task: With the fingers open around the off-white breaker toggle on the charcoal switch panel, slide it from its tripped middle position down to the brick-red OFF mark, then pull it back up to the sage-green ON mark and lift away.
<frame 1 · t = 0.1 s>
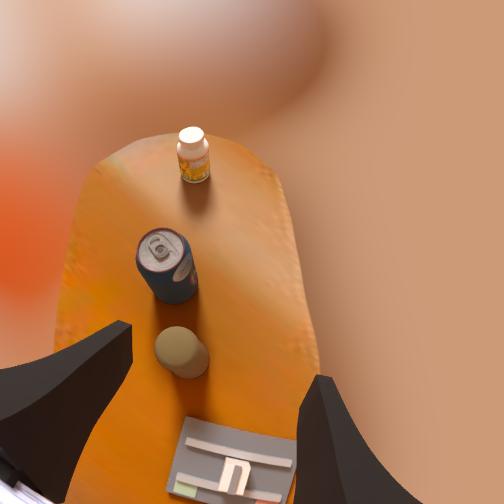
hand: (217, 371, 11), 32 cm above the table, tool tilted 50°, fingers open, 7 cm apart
breaker toggle: (234, 476, 31), point 4 cm above the table, slide at 0.0 cm
switch panel: (233, 468, 34), on the table
supplement bottle: (195, 173, 55), on the table
soda can: (175, 284, 46), on the table
cork: (188, 358, 41), on the table
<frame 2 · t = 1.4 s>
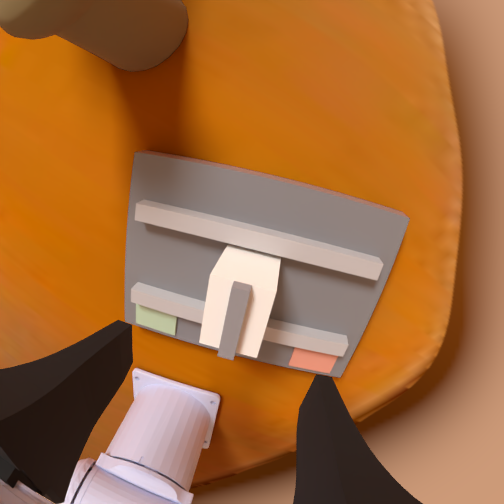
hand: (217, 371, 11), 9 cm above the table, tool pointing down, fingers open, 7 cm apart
breaker toggle: (240, 301, 16), point 4 cm above the table, slide at 0.0 cm
switch panel: (251, 268, 20), on the table
cork: (145, 30, 15), on the table
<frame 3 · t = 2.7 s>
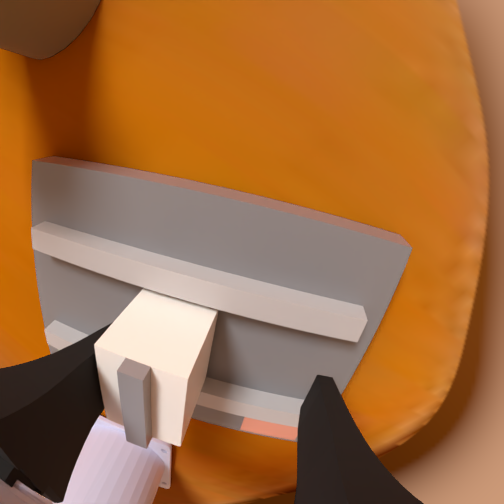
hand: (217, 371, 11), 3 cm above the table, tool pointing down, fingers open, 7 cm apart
breaker toggle: (157, 370, 10), point 4 cm above the table, slide at -0.2 cm, touching gripper
switch panel: (185, 311, 14), on the table
cork: (59, 8, 9), on the table
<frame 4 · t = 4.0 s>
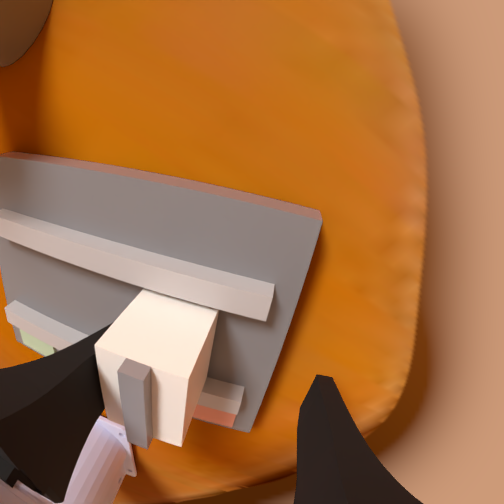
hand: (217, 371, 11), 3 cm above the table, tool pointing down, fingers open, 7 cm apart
breaker toggle: (158, 371, 10), point 4 cm above the table, slide at -3.7 cm, touching gripper
switch panel: (120, 290, 14), on the table
cork: (20, 20, 10), on the table
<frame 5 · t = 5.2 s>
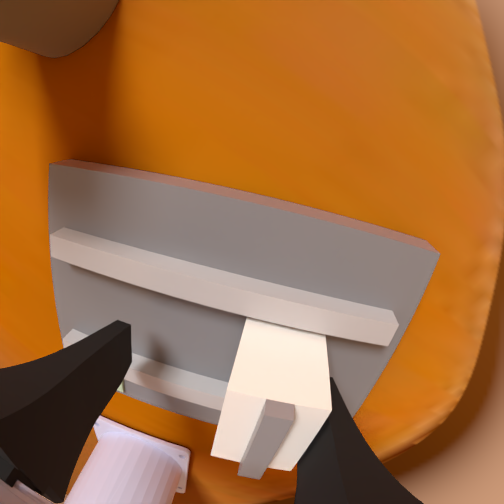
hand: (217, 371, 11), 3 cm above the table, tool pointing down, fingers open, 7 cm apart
breaker toggle: (268, 401, 10), point 4 cm above the table, slide at -3.1 cm, touching gripper
switch panel: (211, 318, 14), on the table
cork: (74, 5, 9), on the table
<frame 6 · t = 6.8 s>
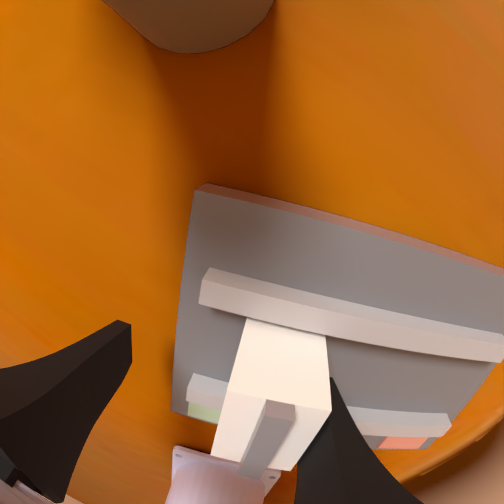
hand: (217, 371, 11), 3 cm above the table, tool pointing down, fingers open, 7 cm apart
breaker toggle: (268, 401, 10), point 4 cm above the table, slide at 3.7 cm, touching gripper
switch panel: (352, 350, 14), on the table
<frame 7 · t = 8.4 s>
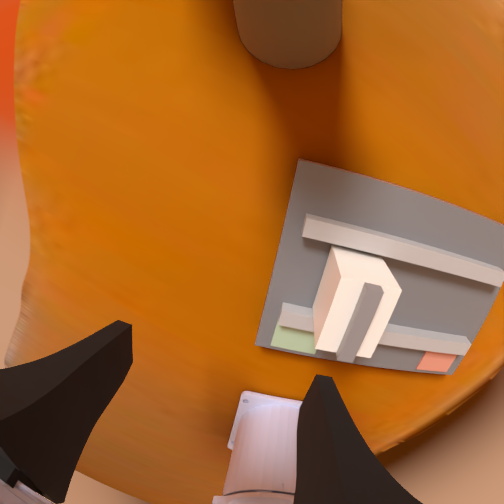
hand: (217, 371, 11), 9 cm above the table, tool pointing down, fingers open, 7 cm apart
breaker toggle: (352, 303, 15), point 4 cm above the table, slide at 3.7 cm
switch panel: (394, 281, 19), on the table
cork: (289, 24, 14), on the table
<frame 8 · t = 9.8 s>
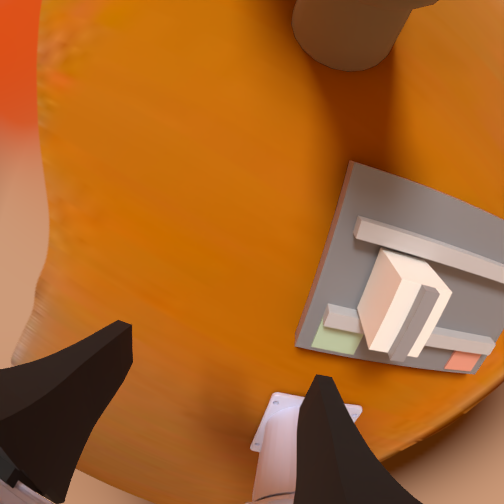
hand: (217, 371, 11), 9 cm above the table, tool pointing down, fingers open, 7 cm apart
breaker toggle: (402, 304, 15), point 4 cm above the table, slide at 3.7 cm
switch panel: (430, 284, 18), on the table
cork: (343, 26, 14), on the table
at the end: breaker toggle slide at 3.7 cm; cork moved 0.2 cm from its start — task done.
